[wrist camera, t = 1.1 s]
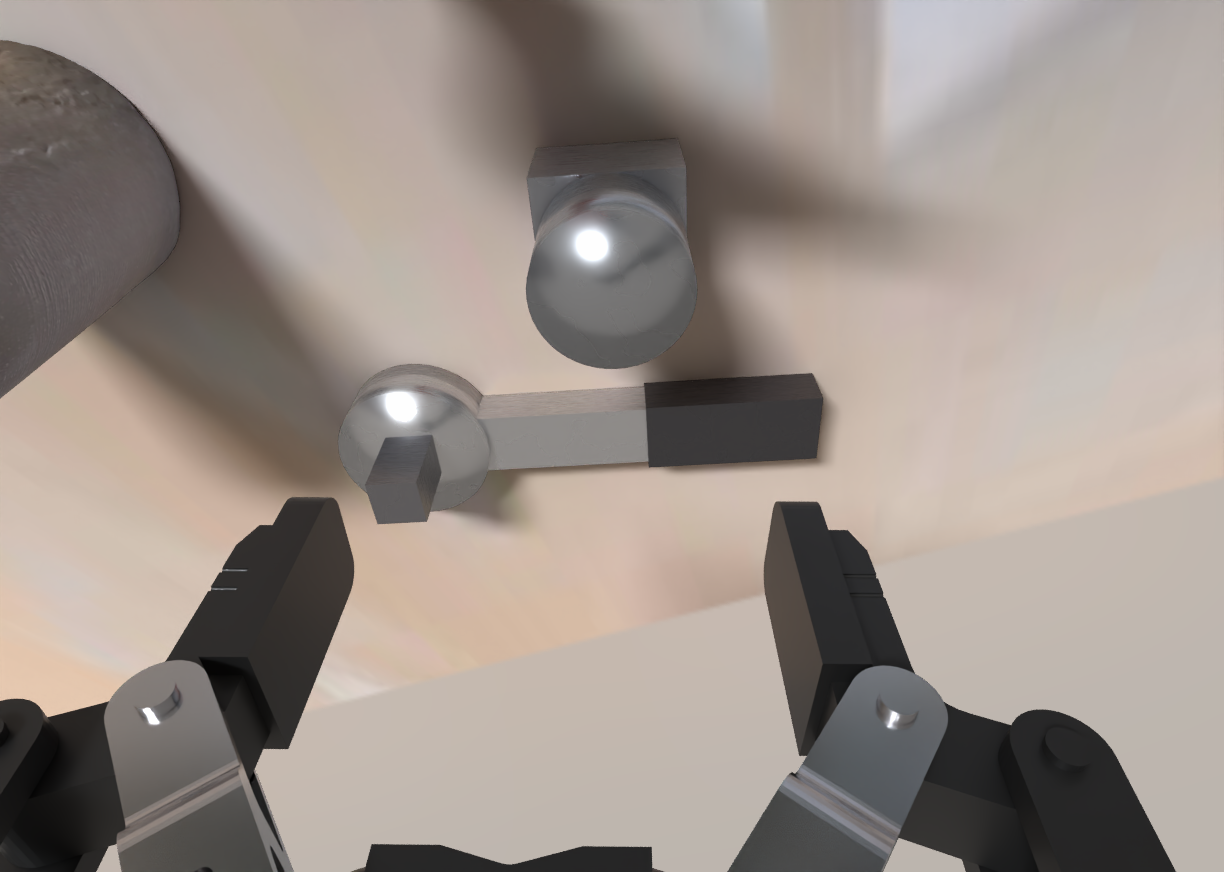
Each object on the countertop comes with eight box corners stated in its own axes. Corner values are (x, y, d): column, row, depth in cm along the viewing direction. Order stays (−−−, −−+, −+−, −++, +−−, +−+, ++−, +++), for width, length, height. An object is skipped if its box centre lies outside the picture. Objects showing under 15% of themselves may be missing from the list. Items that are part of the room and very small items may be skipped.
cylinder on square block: (677, 138, 29) (697, 203, 23) (679, 272, 32) (697, 364, 26) (536, 148, 29) (514, 216, 23) (552, 281, 33) (537, 373, 26)
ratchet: (815, 339, 34) (849, 411, 29) (803, 460, 38) (831, 541, 33) (336, 368, 35) (291, 442, 30) (373, 483, 39) (339, 565, 34)
